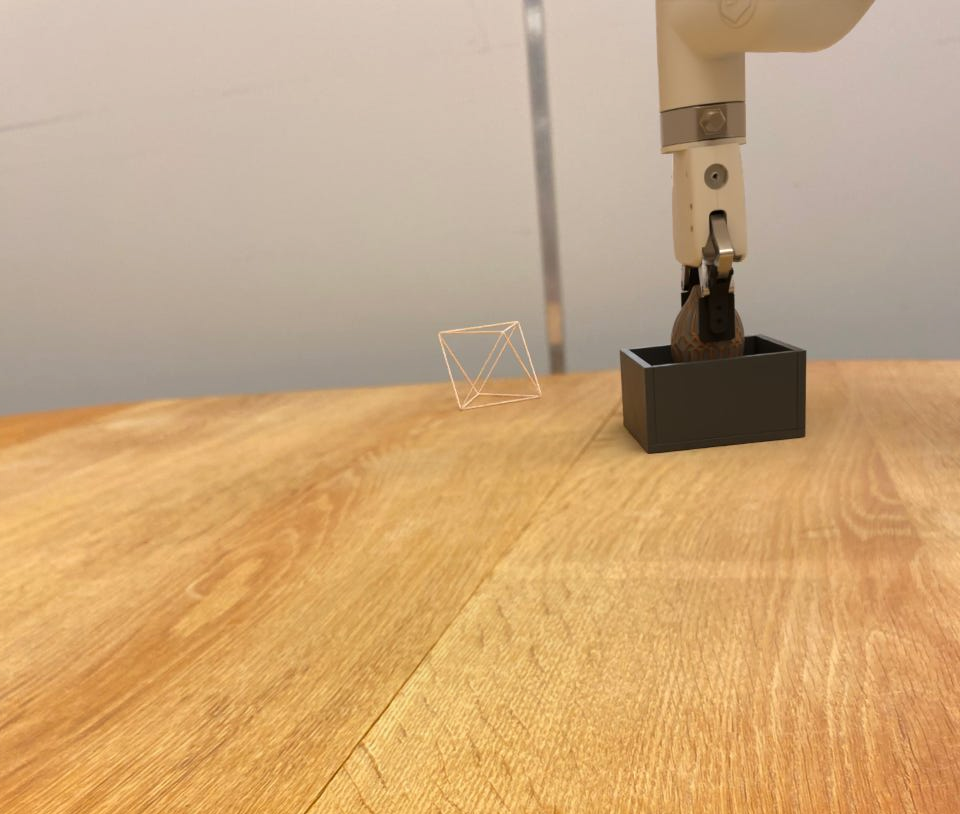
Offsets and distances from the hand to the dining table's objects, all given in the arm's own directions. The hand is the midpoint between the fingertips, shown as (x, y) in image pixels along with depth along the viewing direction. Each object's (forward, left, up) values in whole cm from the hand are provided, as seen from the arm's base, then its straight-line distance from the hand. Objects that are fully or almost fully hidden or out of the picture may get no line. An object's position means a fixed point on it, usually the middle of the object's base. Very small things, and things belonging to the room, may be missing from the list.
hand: (707, 335), depth 101 cm
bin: (0, 0, -9) cm, 9 cm away
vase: (0, 0, -4) cm, 4 cm away
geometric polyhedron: (+20, -32, -9) cm, 39 cm away
